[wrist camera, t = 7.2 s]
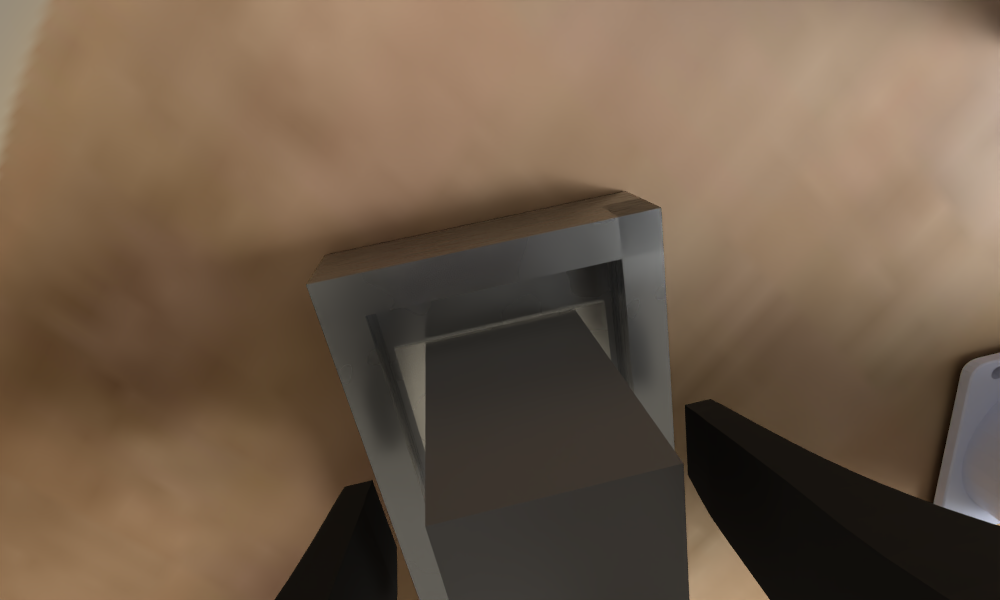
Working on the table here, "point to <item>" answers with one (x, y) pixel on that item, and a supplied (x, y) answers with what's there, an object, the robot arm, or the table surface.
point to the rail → (486, 324)
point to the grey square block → (547, 471)
